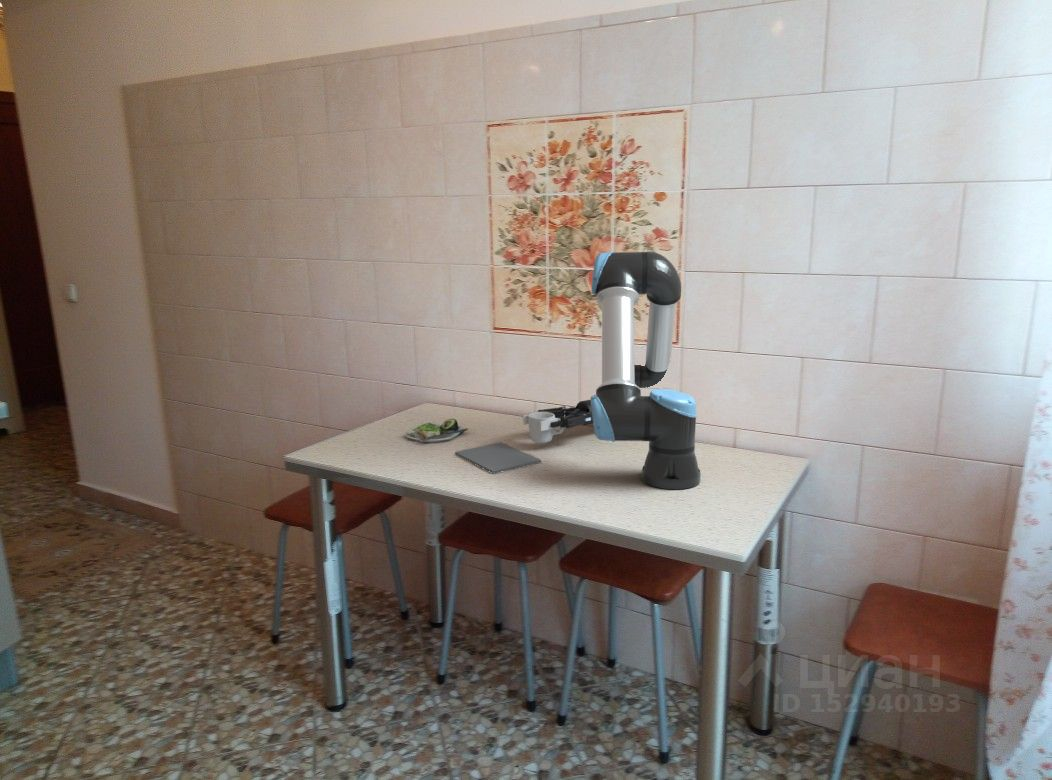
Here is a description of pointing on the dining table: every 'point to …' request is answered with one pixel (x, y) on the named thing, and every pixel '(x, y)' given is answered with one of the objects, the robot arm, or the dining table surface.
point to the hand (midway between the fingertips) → (532, 423)
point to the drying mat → (498, 457)
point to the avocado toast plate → (436, 431)
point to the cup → (535, 427)
